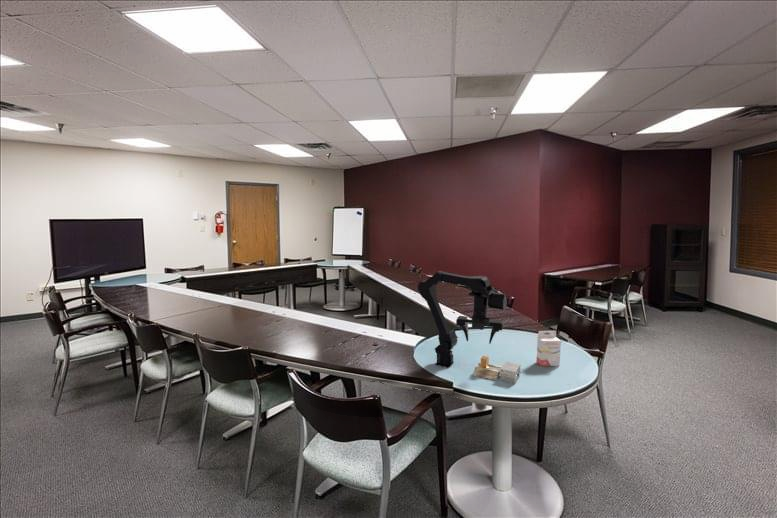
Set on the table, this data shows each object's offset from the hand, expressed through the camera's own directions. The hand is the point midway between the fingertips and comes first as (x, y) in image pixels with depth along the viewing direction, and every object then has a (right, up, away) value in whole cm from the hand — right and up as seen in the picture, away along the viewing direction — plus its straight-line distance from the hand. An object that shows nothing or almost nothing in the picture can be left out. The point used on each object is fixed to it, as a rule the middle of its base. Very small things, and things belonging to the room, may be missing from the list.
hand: (478, 342), depth 160 cm
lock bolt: (+5, -12, -1) cm, 13 cm away
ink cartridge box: (+33, -12, +8) cm, 35 cm away
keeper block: (+12, -14, -5) cm, 19 cm away
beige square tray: (+4, -13, 0) cm, 14 cm away
